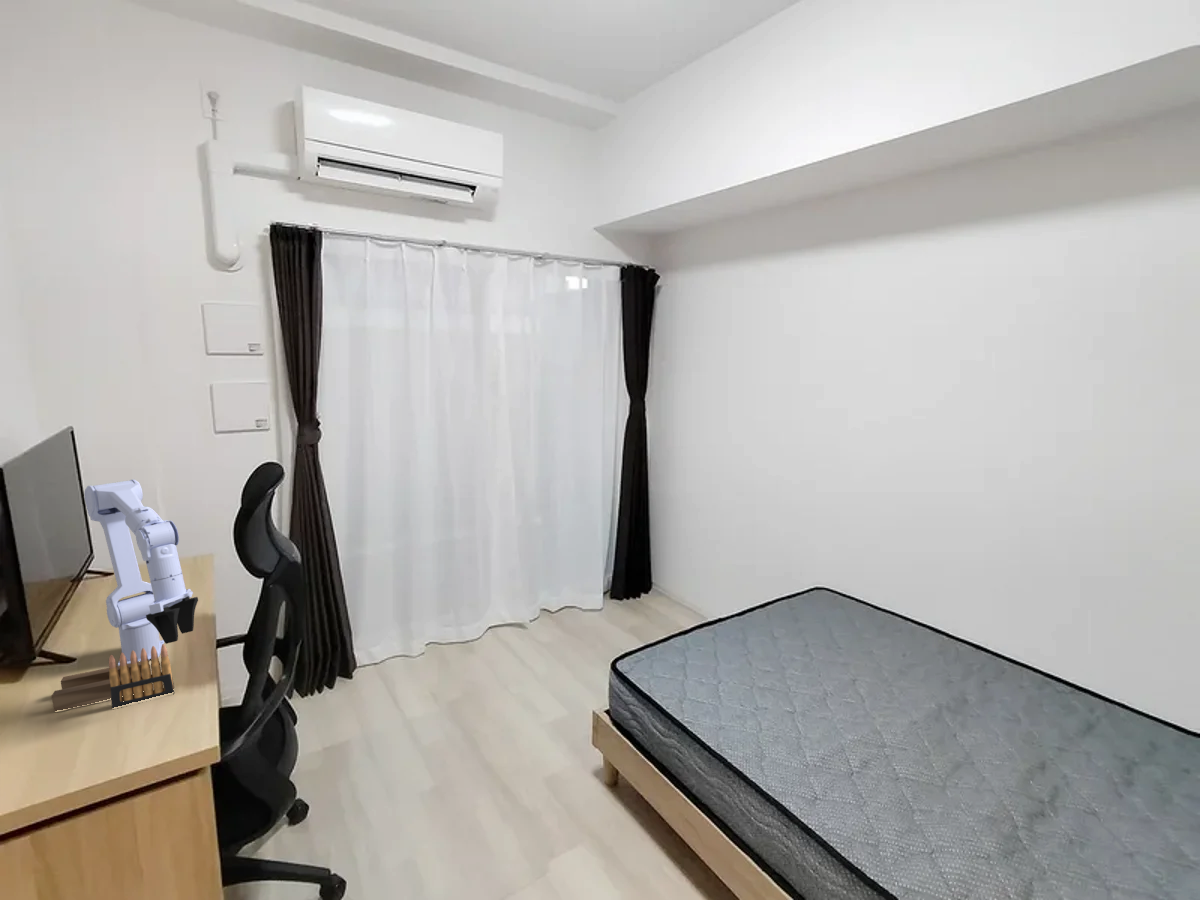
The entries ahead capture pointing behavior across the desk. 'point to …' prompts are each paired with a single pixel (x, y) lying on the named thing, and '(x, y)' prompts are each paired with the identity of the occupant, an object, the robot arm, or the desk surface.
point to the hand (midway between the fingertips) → (179, 637)
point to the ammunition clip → (138, 682)
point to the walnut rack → (84, 688)
